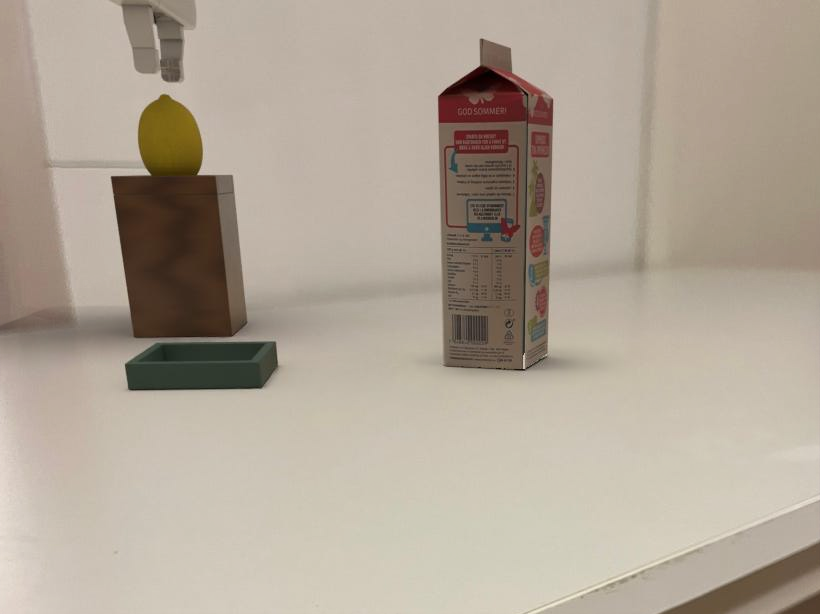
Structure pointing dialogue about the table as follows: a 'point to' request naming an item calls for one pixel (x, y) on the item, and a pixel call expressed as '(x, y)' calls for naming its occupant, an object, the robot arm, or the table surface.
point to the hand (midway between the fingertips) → (161, 78)
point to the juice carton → (495, 215)
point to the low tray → (202, 365)
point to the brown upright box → (180, 254)
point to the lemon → (169, 139)
